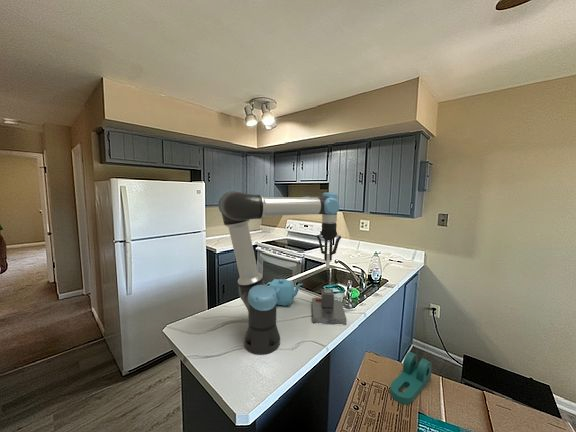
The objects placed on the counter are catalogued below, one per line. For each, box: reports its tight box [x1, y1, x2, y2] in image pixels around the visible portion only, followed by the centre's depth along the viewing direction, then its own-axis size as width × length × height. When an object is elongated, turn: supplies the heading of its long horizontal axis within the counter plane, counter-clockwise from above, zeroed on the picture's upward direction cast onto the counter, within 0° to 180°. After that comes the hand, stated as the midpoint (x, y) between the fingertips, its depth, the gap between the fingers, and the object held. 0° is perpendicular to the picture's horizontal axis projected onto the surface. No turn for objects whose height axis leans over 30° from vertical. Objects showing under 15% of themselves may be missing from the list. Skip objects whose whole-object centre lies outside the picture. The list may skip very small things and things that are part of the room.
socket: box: [311, 297, 348, 326], centre depth 131 cm, size 22×16×4 cm
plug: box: [320, 288, 335, 308], centre depth 134 cm, size 7×6×10 cm
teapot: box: [265, 278, 304, 307], centre depth 143 cm, size 18×16×14 cm
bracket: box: [389, 351, 433, 405], centre depth 83 cm, size 18×7×8 cm, turn 130°
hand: (327, 266), depth 131 cm, fingers closed
